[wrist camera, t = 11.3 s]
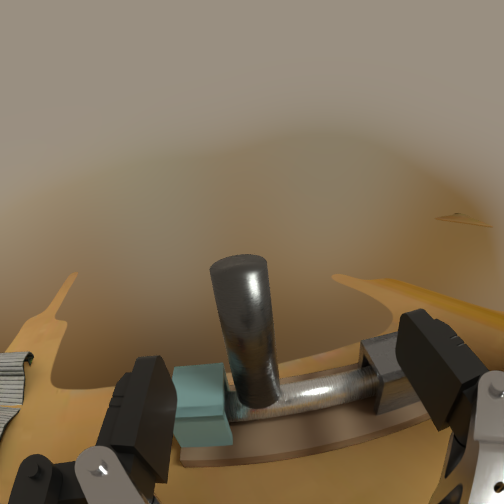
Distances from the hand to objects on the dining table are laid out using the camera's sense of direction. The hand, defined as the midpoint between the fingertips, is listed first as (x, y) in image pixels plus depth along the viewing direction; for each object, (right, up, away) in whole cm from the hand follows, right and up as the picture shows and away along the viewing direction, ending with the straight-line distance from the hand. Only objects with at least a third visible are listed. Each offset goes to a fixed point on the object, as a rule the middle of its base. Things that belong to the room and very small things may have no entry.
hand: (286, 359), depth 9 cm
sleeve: (+14, -11, +18) cm, 25 cm away
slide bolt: (+3, -12, +18) cm, 22 cm away
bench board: (+6, -14, +18) cm, 24 cm away
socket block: (-6, -14, +18) cm, 23 cm away
